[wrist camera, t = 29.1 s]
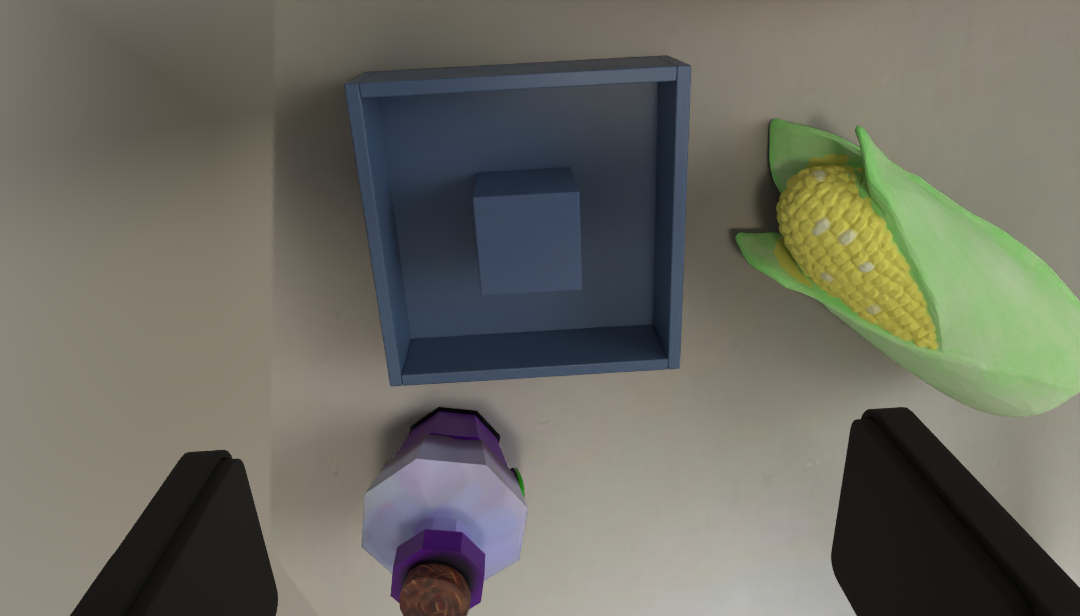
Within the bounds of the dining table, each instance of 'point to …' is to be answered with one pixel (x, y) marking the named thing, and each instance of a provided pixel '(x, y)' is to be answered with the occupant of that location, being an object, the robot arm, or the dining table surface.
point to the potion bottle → (445, 514)
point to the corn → (918, 275)
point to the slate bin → (523, 144)
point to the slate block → (527, 231)
